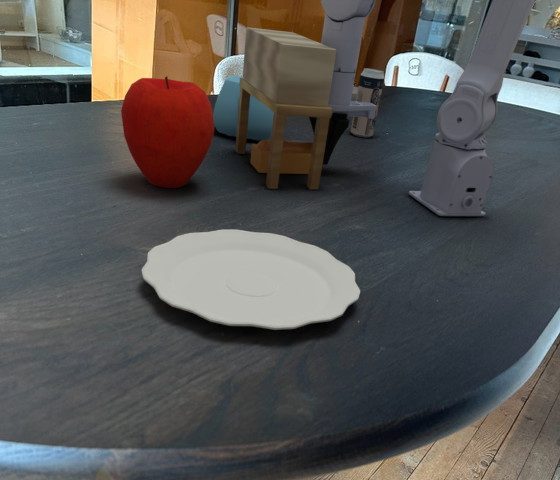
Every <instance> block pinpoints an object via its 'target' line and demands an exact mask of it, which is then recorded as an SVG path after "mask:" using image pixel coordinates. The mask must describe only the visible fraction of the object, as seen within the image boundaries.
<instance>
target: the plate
mask: <svg viewBox="0 0 560 480" xmlns="http://www.w3.org/2000/svg"><path fill="white" fill-rule="evenodd" d="M141 274H142V275H141V276H142V279H143V281H145V282H146V283H147V284H148V285H149V286H150V287H152V288H153V289H154V290H155V293H156V294H157V296H158V299H160V300H161V301H163V302H164V303H166V304H168V305H169V306H171V307H173V308H176V309H179V310H182V311H186V312H189V313H192V314H194V315H197V316H198V317H200V318H203V319H204V320H206V321H208V322H211V323H216V324H220V325H223V326H229V327H254V328H261V329H269V330H273V331H277V330H279V331H280V330H293V329H294V330H295V329H297V328H298V329H299V328H301V327H305V326H307V325H311V324H318V323H325V322H332V321H334V320H336V319H337V318H340V317H342V316H344V313H345V312H346V310H347V309H348V307H350V306H351V305H352V304H354V303H355V302H357V301H359V299H360V294H361V289H360V287H359V286H358V284H357V283H356V273H355V272H354V270H353V269H352V268H351V267H350V266H349V265H347V264H346V263H344V262H342V261H340V260H338V258H335V257H334V255H332V254H331V253H330V252H329V251H327V250H325V249H323V248H321V247H319V246H317V245H313V244H311V243H306V242H303V241H299V240H296V239H293V238H291V237H288V236H286V235H281V234H278V233H272V232H257V231H256V232H255V231H248V230H242V229H216V230H212V231H202V232H188V233H185V234H180V235H177V236H175V237H173V238H172V239H171V240H169V241H167V242H164V243H161V244H159V245H156V246H153V248H151V249H150V250H149V251H148V252H147V260H146V263H144V265H143V266H142V268H141Z"/></svg>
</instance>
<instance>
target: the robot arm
mask: <svg viewBox="0 0 560 480" xmlns="http://www.w3.org/2000/svg"><path fill="white" fill-rule="evenodd" d="M535 2H536V0H492V1H491V3H490V6H489V9H488V11H487V14H486V17H485V18H484V21H483V24H482V26H481V29H480V31H479V34H478V37H477V40H476V43H475V45H474V47H473V49H472V53H471V55H470V58H469V60H468V63H467V65H466V67H465V68H464V70H463V71H462V73H461V75H460V76H459V78H458V79H457V82H456V85H455V87H454V89H453V91H452V93H451V95H450V96H449V97H448V98H447V99H446V100H445V101H444V102H443V103H442V104H441V106H440V107H439V109H438V111H437V116H436V128H437V131H438V132H437V133H435V136H434V140H433V144H432V148H431V151H430V155H429V159H428V163H427V166H426V170H425V174H424V178H423V182H422V185H421V190H409V191H408V195H409V196H410V197H412V198H413V199H415V200H416V201H417V202H419V203H420V204H422V205H423V206H424V207H426V208H427V209H429V210H430V211H431V212H433V213H435V215H437V216H440V217H485V216H486V214H487V213H486V212H485V211H484V210H483V208H484V205H485V202H486V199H487V196H488V193H489V189H490V186H491V184H492V180H493V177H494V172H495V171H494V169H495V167H494V162H493V160H492V159H491V158H490V157H489V156H488V155H487V151H486V148H487V145H488V141H487V138H486V135H485V134H484V133H485V132H487V131H488V130H489V129H490V128H491V127H492V126H493V125H494V123H495V121H496V119H497V117H498V98H499V95H500V92H501V91H502V87H503V84H504V77H505V73H506V70H507V68H508V66H509V63H510V61H511V58H512V57H513V56H512V55H513V54H514V51H515V49H516V47H517V44H518V43H519V39H520V37H521V34H522V33H523V30H524V28H525V25H526V23H527V20H528V18H529V15H530V13H531V10H532V8H533V6H534V4H535ZM320 3H321V6H322V10H323V11H324V13H325V14H324V21H323V26H322V33H321V40H320V43H321V44H323V45H326V46H328V47H331V48H333V49H336V56H335V63H334V69H333V76H332V82H331V88H330V95H329V101H328V106H329V107H330V108H332V109H333V110H332V116H331V118H330V120H329V127H328V133H327V139H326V145H325V152H324V158H323V164H322V166H324V165H326V166H327V165H328V164H329V162H330V160H331V157H332V154H333V152H334V149H335V148H336V145H337V144H338V142H339V140H340V139H341V138H342V136H343V134H344V133H345V132H346V131H347V129H348V128H349V125H350V119H349V118H348V117H352V118H353V117H367V118H369V119H374V116H375V111H376V105H374V104H372V103H365V102H357V101H351V96H352V91H353V87H354V85H355V80H356V79H355V78H356V72H357V67H358V61H359V57H360V52H361V51H360V49H361V45H362V39H363V32H364V27H365V21H366V18H368V16H370V15H371V13H372V11H373V9H374V7H375V4H376V0H320ZM308 119H309V122H310V125H311V129H312V133H313V134H314V133H315V127H316V120H317V117H308Z"/></svg>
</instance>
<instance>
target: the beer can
mask: <svg viewBox="0 0 560 480" xmlns="http://www.w3.org/2000/svg"><path fill="white" fill-rule="evenodd" d="M384 72H385V71H383V70H380V69H375V68H369V67H367V68H365V67H364V68H363V69H362V72H361V73H360V77H359V82H358V86H357V87H358V93H357V98H356V101H357V102H365V103H372V104H374V105H376V111H375V116H374V119H369V118H367V117H353V116H352V121H351V127H350V133H351V134H352V135H353V136H356V137H359V138H370V137H372V136H374V132H375V126H376V121H377V116H378V112H379V106H380V101H381V96H382V92H383V88H384V87H383V86H384V82H385V78H386V77H385V73H384Z"/></svg>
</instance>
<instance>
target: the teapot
mask: <svg viewBox="0 0 560 480" xmlns="http://www.w3.org/2000/svg"><path fill="white" fill-rule="evenodd" d="M240 78H243V75H231V76H228V77H227V78H226V79H225V80H224V82H223V84H222V86H221V88H220V91H219V93H218V95H217V98H216V100H215V104H214V107H213V119H214V128H215V129H216V132H218V133H220V134H224V135H226V136H228V137H234V138H236V136H237V123H238V110H239V96H240V86H239V83H240ZM273 115H274V112H273V111H271V110H270V109H269V108H267V107H266V106H265V105H264V104H262V103H261V102H260V101H258V100H257V99H256V98H255V97H253V96H252V95H251V94H250V104H249V116H248V128H247V139H248V140H253V141H256V142H260V141H261V140H264V139H268V140H271V134H272V124H273ZM247 139H246V140H247Z"/></svg>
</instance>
